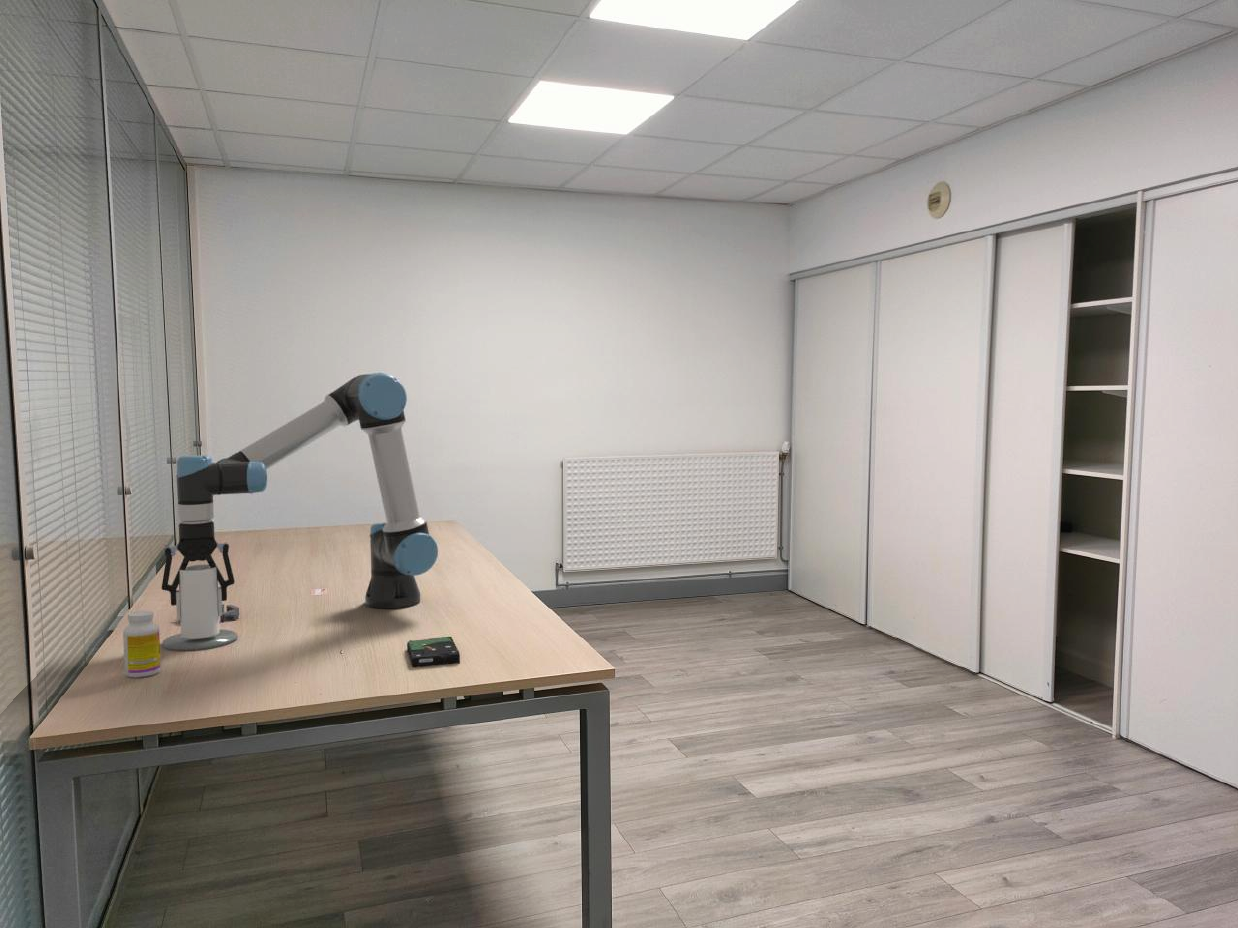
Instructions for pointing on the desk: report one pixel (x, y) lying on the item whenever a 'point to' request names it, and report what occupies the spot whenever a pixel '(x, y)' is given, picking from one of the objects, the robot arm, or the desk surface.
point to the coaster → (199, 641)
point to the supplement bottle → (141, 645)
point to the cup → (199, 601)
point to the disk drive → (433, 652)
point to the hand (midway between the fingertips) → (199, 616)
